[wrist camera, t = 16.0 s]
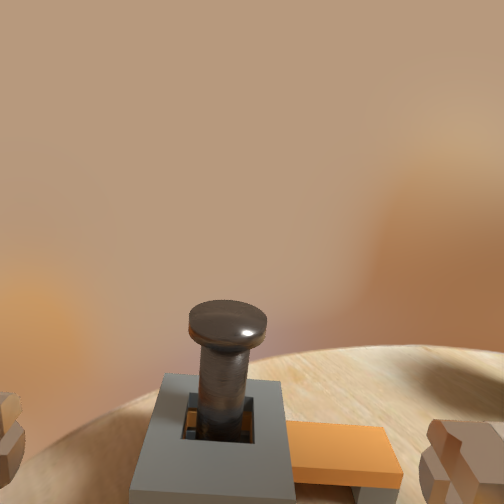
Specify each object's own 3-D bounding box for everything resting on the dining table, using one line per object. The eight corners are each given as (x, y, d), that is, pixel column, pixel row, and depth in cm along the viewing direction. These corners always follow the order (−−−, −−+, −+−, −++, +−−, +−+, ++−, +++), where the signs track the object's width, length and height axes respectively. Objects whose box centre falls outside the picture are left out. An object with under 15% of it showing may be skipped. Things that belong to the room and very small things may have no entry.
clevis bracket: (367, 437, 41) (378, 388, 39) (417, 570, 29) (436, 508, 27) (162, 423, 40) (164, 372, 38) (128, 554, 28) (129, 489, 26)
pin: (248, 448, 38) (265, 303, 33) (248, 503, 32) (269, 338, 28) (184, 444, 38) (193, 297, 33) (175, 499, 32) (184, 332, 28)
